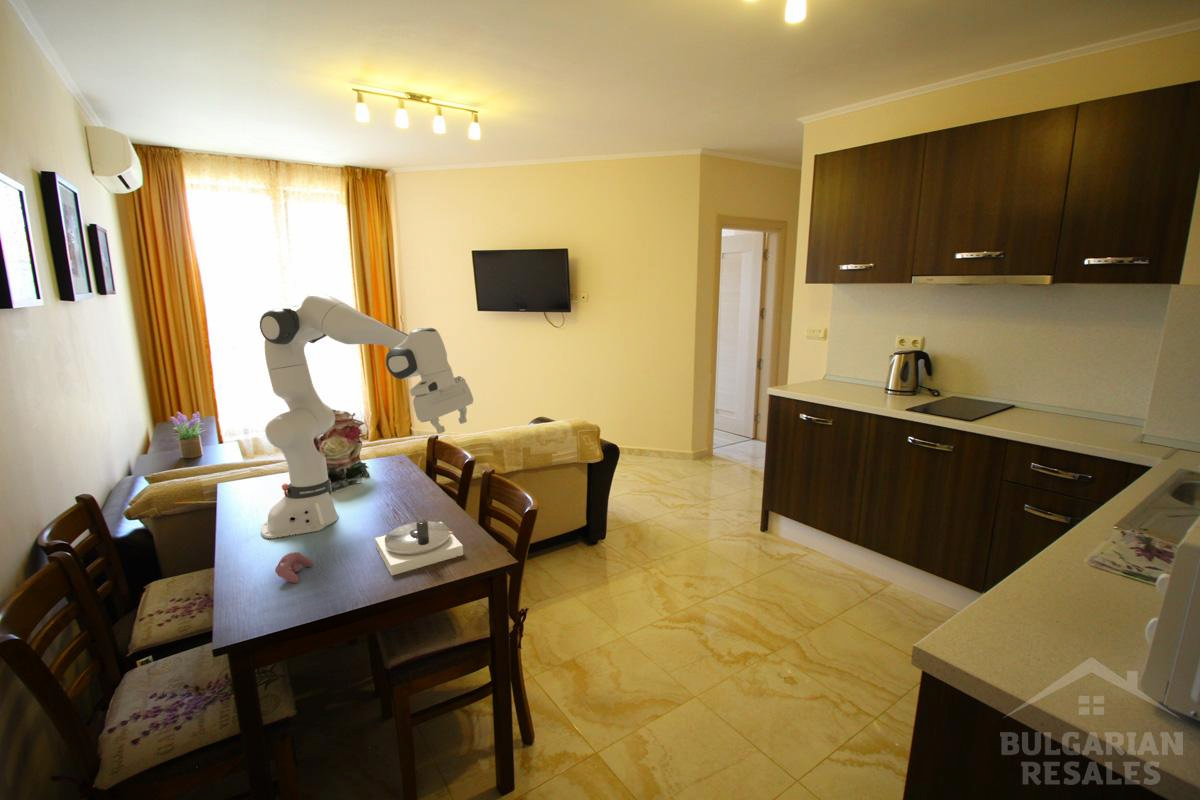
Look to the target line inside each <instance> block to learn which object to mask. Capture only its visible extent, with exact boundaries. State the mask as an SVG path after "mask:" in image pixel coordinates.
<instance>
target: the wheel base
mask: <svg viewBox="0 0 1200 800" xmlns="http://www.w3.org/2000/svg"><path fill="white" fill-rule="evenodd" d="M438 522H439V523H442V524H444V523H443V522H442V521H438ZM386 535H387V534H385V535H382V536H378V537H375V538H374V541H375V548H376V550H377V551H379V552H378V553H380V554H379V555H380V557H381V558H382V561H383V562H385V563H384V564H385V566H386V568H387V569H388V572H389V571H390V572H389V573H390V575H391V576H396V575H399V574H403V573H407V572H410V571H413V570H415V569H419V568H423V567H425V566H430V565H433V564H437V563H439V562H440V563H441V562H443V561H446V560H450V559H453V558H458V557H461V556H464V545H463V544H462V543H461V542H460V540H458V538H456V536H455V535H454V532H453V531H452V530H451V531H450V530H449V535H450V538H449V540H448V542H447V543H446V544H444V545H443V546H442V547H440V548H438V549H436V550H433V551H431V552H427V553H423V554H418V555H406V556H405V555H396V554H392V553H390V552H388V551H387V550H386V548H385V537H386ZM457 556H458V557H457Z"/></svg>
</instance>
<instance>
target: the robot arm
mask: <svg viewBox="0 0 1200 800" xmlns="http://www.w3.org/2000/svg"><path fill="white" fill-rule="evenodd" d="M259 328H260V332H261V335H262V336H263V338H264V356H265V362H266V366H267V371H268V375H269V379H270V383H271V387H272V391H273V393H274V394H275V396H277V397H278V398H281V399H282V400H283V401H284V402H285V403H286V405H287V407H288V409H289V411H286V412H283V413H280V414H279V415H277V416H275V417H274V418H273V419H271V420H270V421H269V422H268V423H267V425H265V431H264V432H265V437H266V439H267V440H268V442H269V443H270V444H271V445H272V446H273V447H276V448H277V449H278V450H279V451H280V452H281V454H282V456H283V457H284V459H285V461H286V464H287V469H288V475H289V476H288V477H289V481H290V483H286V482H284V483H283V484H282V485H281V490H283V493H284V497H282V499H280V500H279V501H278V502H277V503H276V504H274V505H273V506H272V507H271V508H270V510H269V512H268V515H267V521H266V522H264V523H263V524H262V525H261V528H260V533H261V537H263V538H265V539H268V538H269V539H270V538H271V539H277V537H278V538H283V536H284V537H290V536H295V534H296V535H302V534H307V533H312V532H313V533H314V532H320V531H322V530H323V529H324V528H325V527H327V526H329V525H331V524H333V523H334V522H336V521H337V520H338V518H339V514H338V512H337V509H336V508H335V505H334V502H333V501H334V500H333V498H332V493H333V492H332V490H331V482H330V479H329V477H328V473H327V465H326V458H325V456H324V455H323V454H322V453H320V452H318V451H317V449H316V447H315V445H314V438H316V437H318V436H323V434H324V433H326V432H327V431H328V430H329V429H330V428H331V427H332V426H333V425H334V423H335V414H334V412H333V410H334V409H333V408H331V407H330V406H328V405H327V404H325V403H324V402H323V400H321V399H322V398H320V396H319V394H318V393H317V390H316V389H315V387H314V384H313V381H312V377H311V374H310V373H311V372H310V370H309V366H308V362H307V358H306V354H305V347H306V344H308V343H310V344H314V343H316V342H318V341H319V340H321V339H324V338H325V337H329V338H330V339H332V340H334V341H336V342H339V343H341V344H346V345H367V344H368V345H380V346H383V347H386V348H388V349H390V350H389V351H387V353H386V356H385V367H386V370H387V372H389V374H390V375H391V376H392V377H393V378H395V379H399V380H406V379H407V380H408V379H410V378H415V377H419V376H420V379H421V380H420V381H419V382H418V383H417V384H416V385H414V386H413V387H412V388H411V389H410V390H409V391H410V395H411V397H414V398H413V401H412V404H413V408H414V411H415V412H414V413H415V415H416V418H417V420H418V421H419V422H420V423H427V422H430V424H431V425H432V426H433V427H434V428H435V430H436V433H437V434H439V435H440V434H443V433H444V432H446V429H445V426H444V425H441V424H440V419H439V418H440V417H441V418H442V417H443V416H445V415H448V414H450V413H453V412H455V411H458V413H459V418H458V423H459V424H460V425H461V424H465V423H467V422H468V419H467V411H468V409H467V407H468V406H470V405H473V403H474V397H473V394H472V392H471V389H470V387H469V385H468V383H467V382H466V379H465V378H464V377H462V376H461V375H458V376H454V373H453V369H452V367H451V365H450V363H449V361H448V353H447V350H446V347H445V344H444V341H443V339H442V338H443V337H441V334H440V333H439V331H438V330H437V329H435V328H432V327H423V328H416V329H412V330H410V331H409V332H408V334H407V333H405V332H403V331H401V330H399V329H397V328H395V327H394V326H391V325H389V324H387V323H384V322H382V321H380V320H377V319H375V318H373V317H371V316H369V315H367V314H365V313H363V312H362V311H359V310H357V309H356V308H354V307H352V306H350V305H349V304H348V303H345V302H344V301H342V300H339V299H337V298H336V297H333V296H331V295H328V294H324V293H321V292H315V293H311V294H309V295H307V296H306V297H305V298H304V299H303V300H302V303H301V305H293V306H289V307H282V308H279V307H277V308H273V309H271V310H267V312H265V313H263V314H262V316H261V318H260V321H259ZM332 409H333V410H332ZM289 535H290V536H289Z"/></svg>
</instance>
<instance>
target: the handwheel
mask: <svg viewBox="0 0 1200 800" xmlns="http://www.w3.org/2000/svg"><path fill="white" fill-rule="evenodd" d="M439 522H440V521H438V522H437V521H429V520H428V521H427V520H420V521H418V522H412V523H411V522H410V523H407V524H403V525H401V526H398V527H396V528H394V529H392V530H391V531H389V532H388V533H387V534H385V535H386V537H385V548H386V550H387V551H388V552H390V553H392V554H396V555H405V556H406V555H418V554H423V553H427V552H431V551H433V550H436V549H438V548H440V547H442V546H443V545H444V544H446V543H447V542H448V540H449V538H450V535H449V531H450V528H449V526H448V525H446V524H445V523H443V522H442V523H443V524H442V523H439Z"/></svg>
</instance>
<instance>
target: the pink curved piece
mask: <svg viewBox="0 0 1200 800" xmlns="http://www.w3.org/2000/svg"><path fill="white" fill-rule="evenodd" d="M313 565H314V563H313V560H311V558H309V557H307V556H305V555H303V554H302V553H300V552H297V551H293V552H290V553H287V554H285V555H284V556H283V557H282V558H281V559H280V560H279V561H278V564H277V565H276V567H275V574H276V575H277V576H278V577H280V578H282V579H284V581H287V582H289V583H292V584H297V582H298V583H299V581H300V577H299V576H298V575H297V574H296V573H297V572H299V571H300V569H301V567H300V566H302V567H307V568H311V567H313ZM295 572H296V573H295Z"/></svg>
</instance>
